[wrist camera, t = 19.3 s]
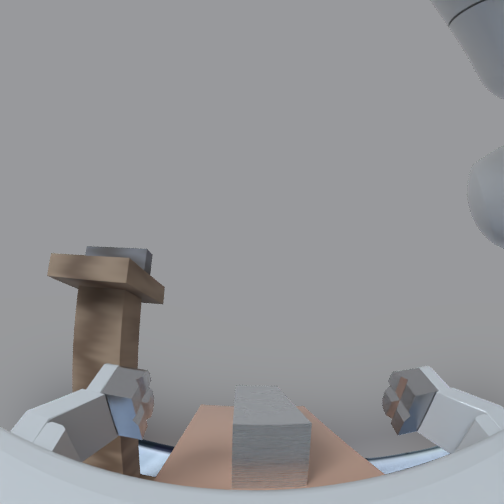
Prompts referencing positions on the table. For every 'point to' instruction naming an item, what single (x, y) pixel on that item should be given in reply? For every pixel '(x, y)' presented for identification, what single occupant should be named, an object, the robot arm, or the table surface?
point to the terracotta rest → (220, 454)
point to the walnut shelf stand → (108, 326)
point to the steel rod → (268, 440)
